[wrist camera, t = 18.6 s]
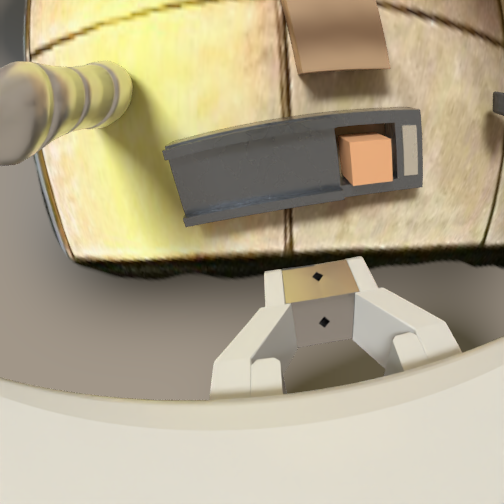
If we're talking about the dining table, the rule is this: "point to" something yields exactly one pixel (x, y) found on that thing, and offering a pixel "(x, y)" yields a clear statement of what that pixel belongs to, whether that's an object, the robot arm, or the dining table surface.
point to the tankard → (498, 103)
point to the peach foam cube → (365, 158)
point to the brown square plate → (336, 35)
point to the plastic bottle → (56, 103)
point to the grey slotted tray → (285, 163)
